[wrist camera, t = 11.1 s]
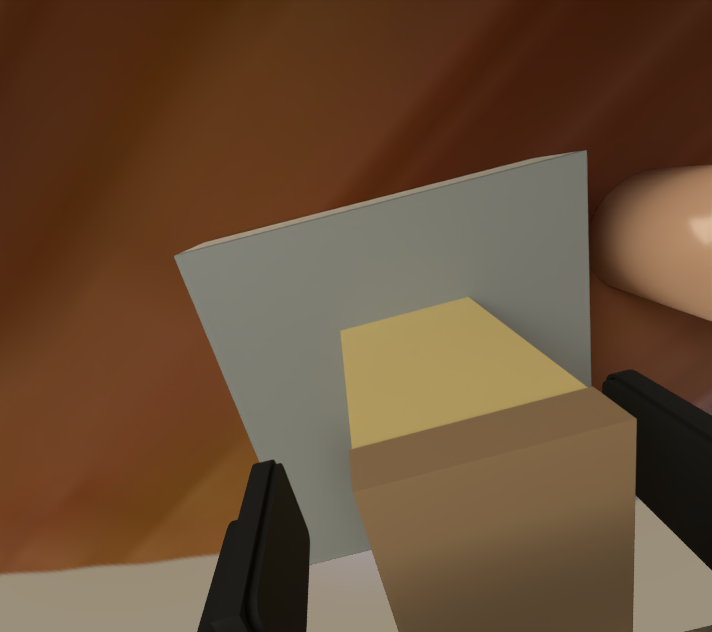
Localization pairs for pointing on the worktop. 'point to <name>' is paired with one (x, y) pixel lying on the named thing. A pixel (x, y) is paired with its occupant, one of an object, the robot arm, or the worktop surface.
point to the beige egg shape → (658, 238)
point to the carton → (488, 478)
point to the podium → (385, 306)
